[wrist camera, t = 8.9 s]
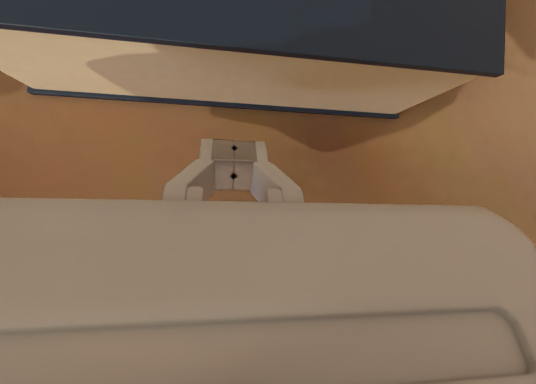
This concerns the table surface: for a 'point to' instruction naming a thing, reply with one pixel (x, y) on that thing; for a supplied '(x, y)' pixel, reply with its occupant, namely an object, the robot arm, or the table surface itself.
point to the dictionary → (254, 51)
